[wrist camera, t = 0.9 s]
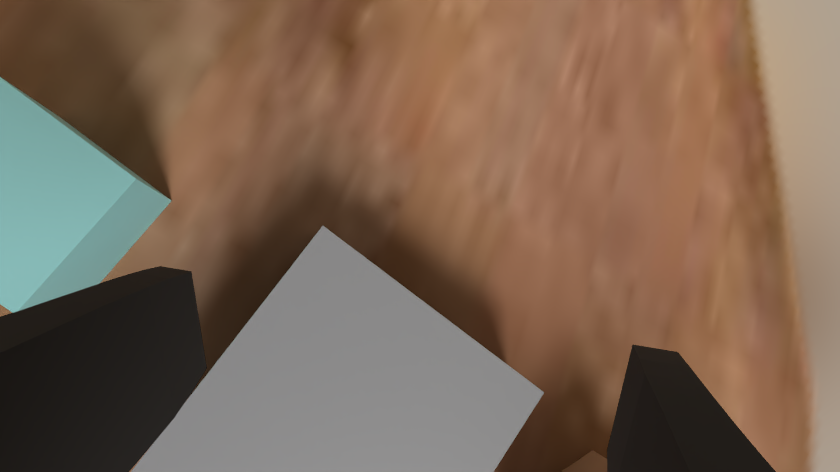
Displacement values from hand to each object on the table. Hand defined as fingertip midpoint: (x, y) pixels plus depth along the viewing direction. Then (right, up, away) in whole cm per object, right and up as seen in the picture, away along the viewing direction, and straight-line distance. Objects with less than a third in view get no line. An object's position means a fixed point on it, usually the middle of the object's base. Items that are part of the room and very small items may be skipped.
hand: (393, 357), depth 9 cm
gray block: (-3, -5, +14) cm, 15 cm away
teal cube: (-13, +3, +12) cm, 18 cm away
